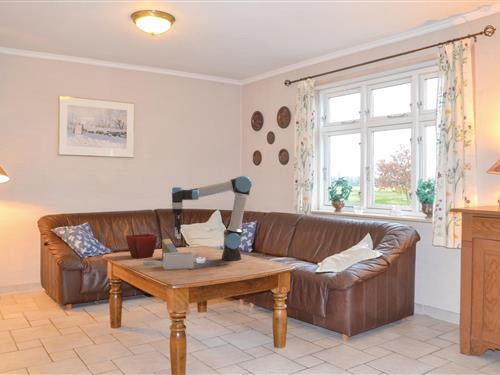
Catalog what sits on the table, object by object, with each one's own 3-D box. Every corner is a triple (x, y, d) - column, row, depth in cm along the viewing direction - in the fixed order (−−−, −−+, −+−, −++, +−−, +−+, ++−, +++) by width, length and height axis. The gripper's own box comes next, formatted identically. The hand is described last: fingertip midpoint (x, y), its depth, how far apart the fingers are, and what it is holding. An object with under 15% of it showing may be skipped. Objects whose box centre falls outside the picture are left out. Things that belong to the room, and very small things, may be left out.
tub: (191, 265, 316) (191, 251, 316) (193, 269, 305) (193, 254, 305) (163, 267, 311) (163, 252, 311) (164, 270, 300) (164, 255, 300)
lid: (179, 261, 332) (179, 253, 332) (181, 264, 320) (181, 256, 320) (143, 263, 326) (143, 255, 326) (143, 266, 314) (143, 258, 314)
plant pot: (125, 256, 356) (125, 235, 355) (148, 254, 367) (148, 233, 367) (134, 259, 340) (134, 237, 340) (158, 257, 351) (157, 236, 351)
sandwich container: (176, 261, 336) (176, 241, 336) (161, 258, 345) (161, 239, 345) (184, 259, 344) (184, 239, 343) (169, 257, 352) (169, 238, 352)
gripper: (170, 207, 337) (171, 235, 337) (173, 209, 313) (174, 239, 313) (180, 207, 339) (181, 235, 339) (184, 209, 314) (184, 239, 315)
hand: (177, 237), depth 326 cm, fingers open, 13 cm apart
